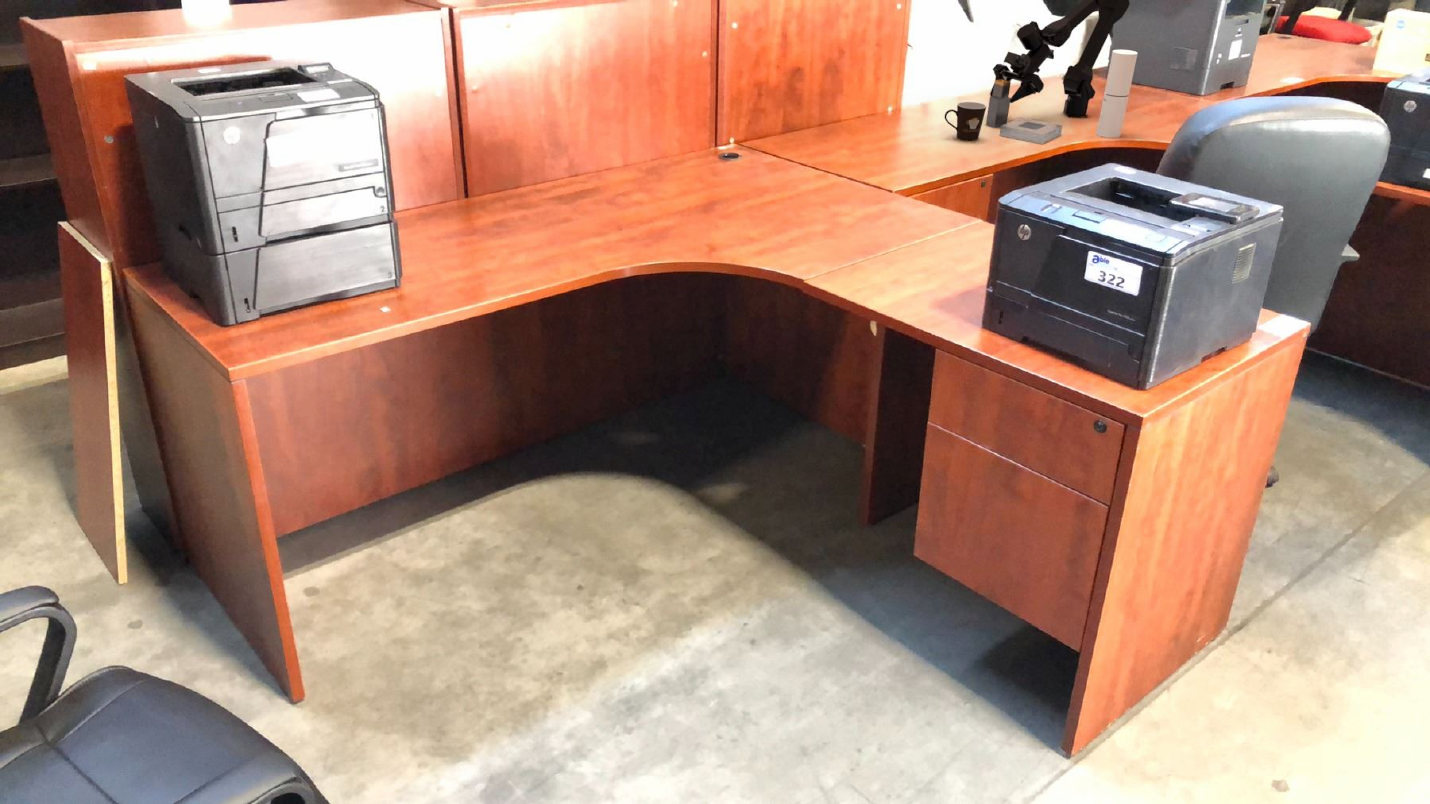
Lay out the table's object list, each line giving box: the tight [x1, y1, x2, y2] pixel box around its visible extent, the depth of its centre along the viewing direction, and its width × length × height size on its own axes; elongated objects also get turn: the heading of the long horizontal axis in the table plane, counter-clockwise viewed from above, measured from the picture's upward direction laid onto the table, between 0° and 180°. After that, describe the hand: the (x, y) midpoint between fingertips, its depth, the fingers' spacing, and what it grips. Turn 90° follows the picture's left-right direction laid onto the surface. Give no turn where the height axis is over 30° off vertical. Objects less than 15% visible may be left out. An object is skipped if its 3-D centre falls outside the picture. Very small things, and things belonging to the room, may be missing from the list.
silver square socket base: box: [999, 117, 1064, 145], centre depth 322 cm, size 14×14×3 cm
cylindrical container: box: [1096, 49, 1138, 139], centre depth 319 cm, size 7×7×25 cm
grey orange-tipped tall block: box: [985, 79, 1012, 129], centre depth 329 cm, size 5×4×14 cm
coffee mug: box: [944, 101, 987, 142], centre depth 316 cm, size 12×9×10 cm
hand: (1000, 98), depth 328 cm, fingers open, 9 cm apart
